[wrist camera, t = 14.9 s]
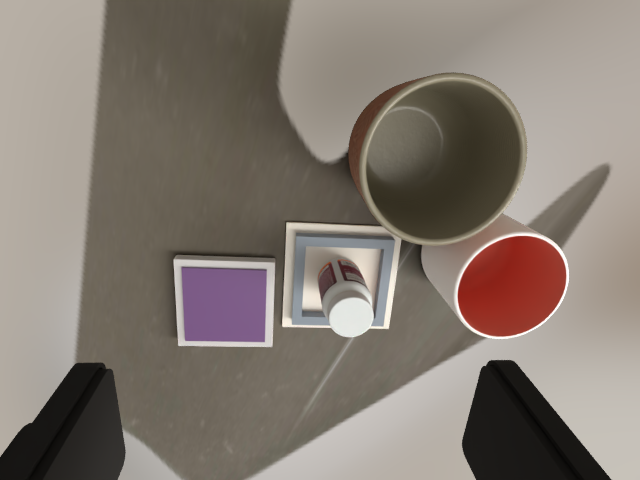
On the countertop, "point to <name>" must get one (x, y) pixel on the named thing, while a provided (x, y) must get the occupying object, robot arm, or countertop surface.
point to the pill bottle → (345, 297)
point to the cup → (499, 278)
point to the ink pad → (224, 300)
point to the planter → (438, 157)
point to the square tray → (330, 243)
